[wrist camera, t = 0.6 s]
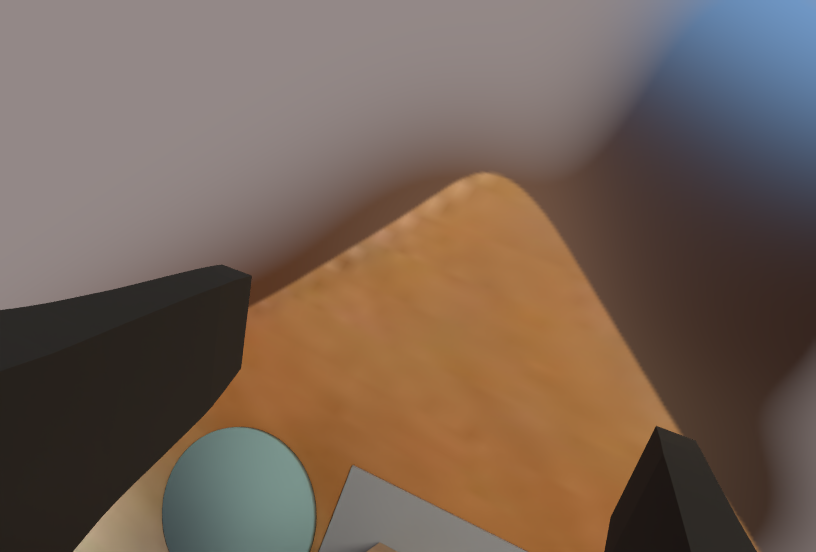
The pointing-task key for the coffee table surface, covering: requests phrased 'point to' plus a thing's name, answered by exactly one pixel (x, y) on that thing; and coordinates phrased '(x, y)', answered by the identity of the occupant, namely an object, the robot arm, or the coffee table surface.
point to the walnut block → (381, 548)
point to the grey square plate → (400, 522)
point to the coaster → (239, 496)
